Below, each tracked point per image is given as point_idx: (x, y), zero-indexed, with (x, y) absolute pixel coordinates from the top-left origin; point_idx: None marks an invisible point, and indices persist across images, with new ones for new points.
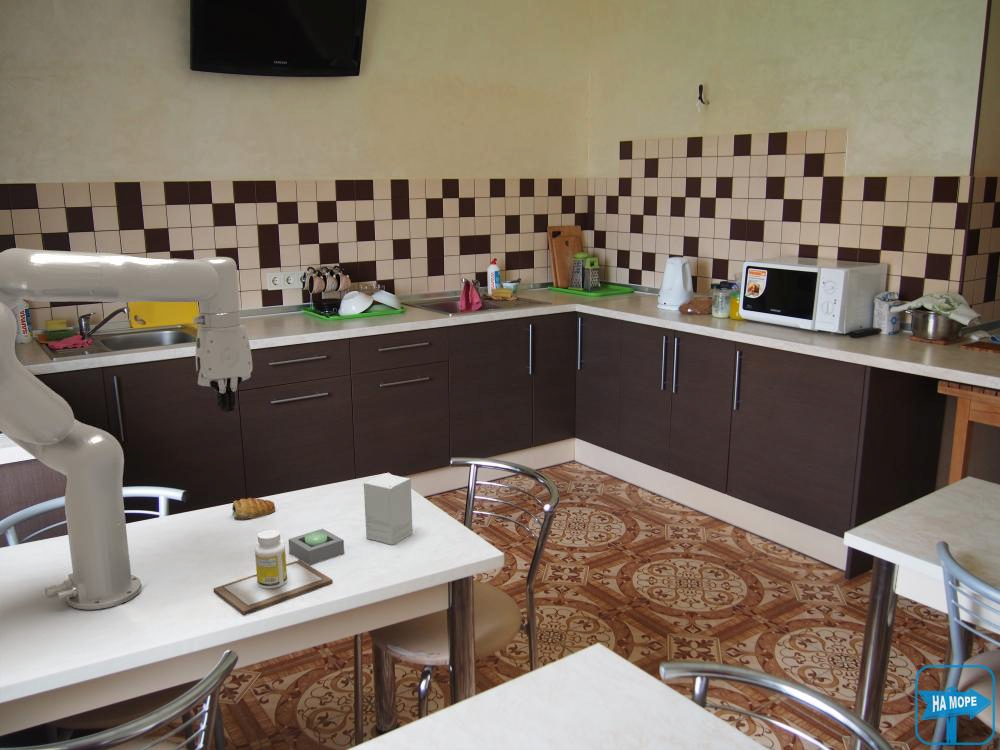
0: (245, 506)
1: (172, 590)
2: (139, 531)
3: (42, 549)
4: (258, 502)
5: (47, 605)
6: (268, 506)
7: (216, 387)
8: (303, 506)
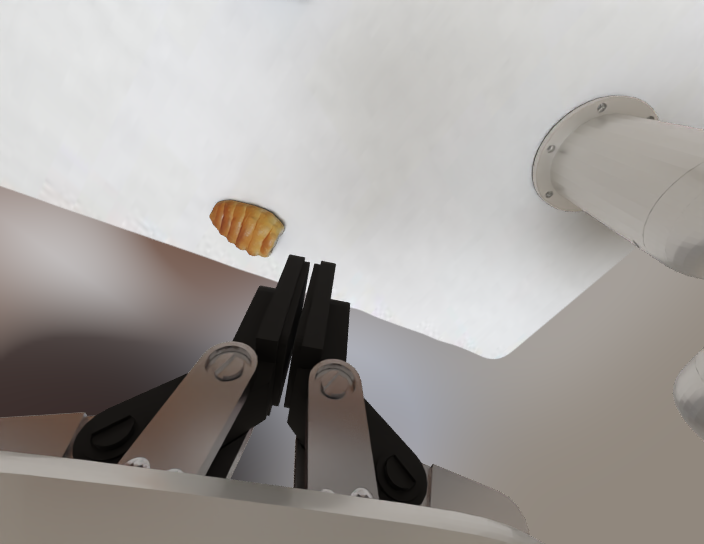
0: (263, 227)
1: (545, 65)
2: (395, 295)
3: (490, 334)
4: (237, 222)
5: None
6: (227, 206)
7: (374, 430)
8: (167, 178)
